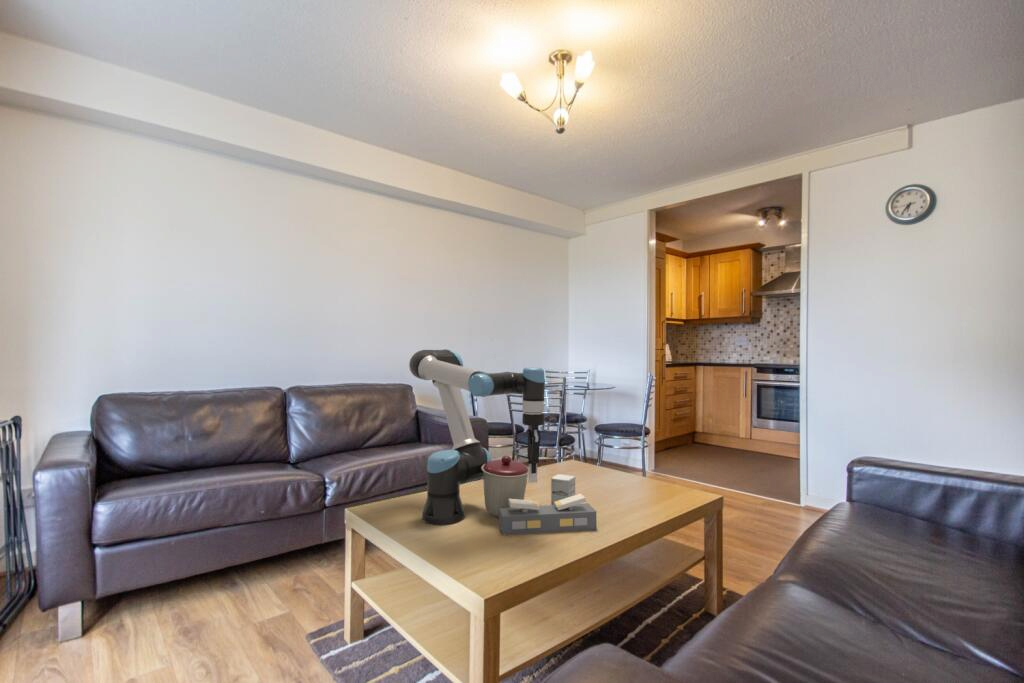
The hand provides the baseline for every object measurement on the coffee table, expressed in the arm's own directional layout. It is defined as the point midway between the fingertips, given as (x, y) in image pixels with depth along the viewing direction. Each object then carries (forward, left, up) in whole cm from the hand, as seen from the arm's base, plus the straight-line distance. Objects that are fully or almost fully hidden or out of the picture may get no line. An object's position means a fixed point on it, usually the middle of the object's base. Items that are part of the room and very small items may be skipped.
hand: (532, 481), depth 162 cm
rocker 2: (+13, 0, -7) cm, 15 cm away
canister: (-8, +16, -15) cm, 24 cm away
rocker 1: (-3, 0, -7) cm, 8 cm away
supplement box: (+15, +16, -16) cm, 27 cm away
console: (+5, 0, -16) cm, 16 cm away
